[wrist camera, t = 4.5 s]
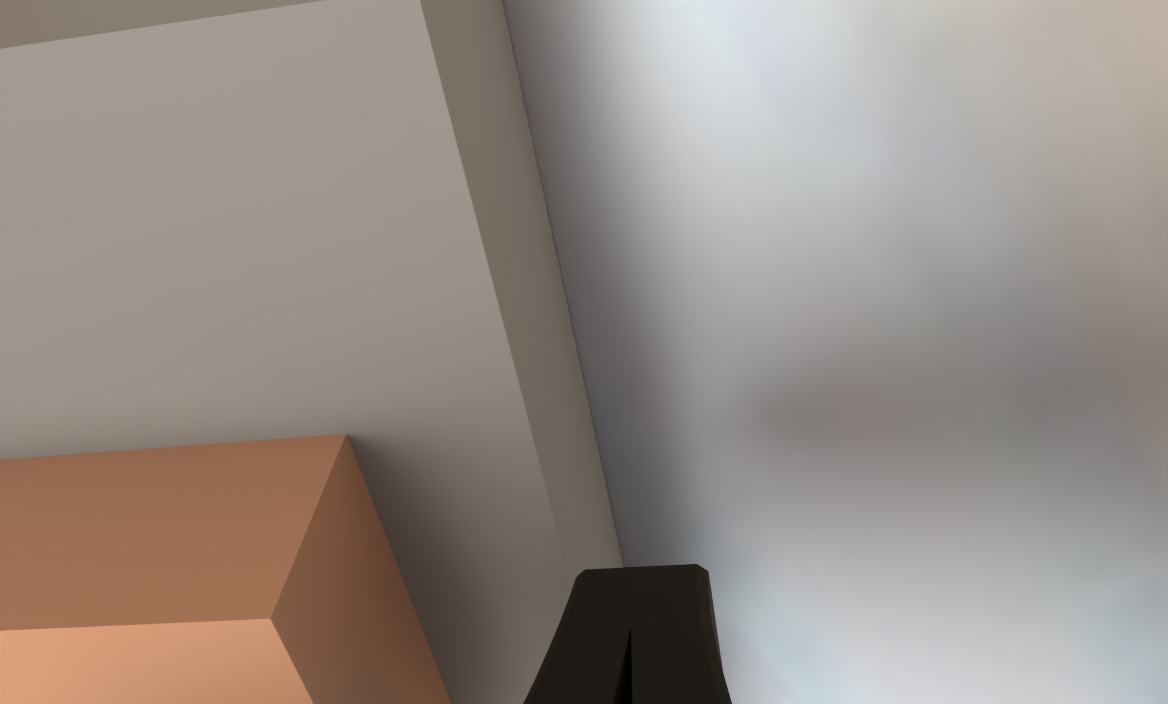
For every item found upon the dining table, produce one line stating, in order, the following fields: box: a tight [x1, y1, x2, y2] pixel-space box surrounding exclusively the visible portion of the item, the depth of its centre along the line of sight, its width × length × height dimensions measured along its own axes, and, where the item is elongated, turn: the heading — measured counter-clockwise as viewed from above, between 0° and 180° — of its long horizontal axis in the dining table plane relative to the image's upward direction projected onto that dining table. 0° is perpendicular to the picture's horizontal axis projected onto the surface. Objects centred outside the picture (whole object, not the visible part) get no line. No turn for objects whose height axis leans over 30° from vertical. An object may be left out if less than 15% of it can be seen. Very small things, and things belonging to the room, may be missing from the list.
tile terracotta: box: [0, 434, 451, 704], centre depth 12 cm, size 5×5×2 cm
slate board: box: [0, 0, 624, 704], centre depth 15 cm, size 14×14×3 cm
